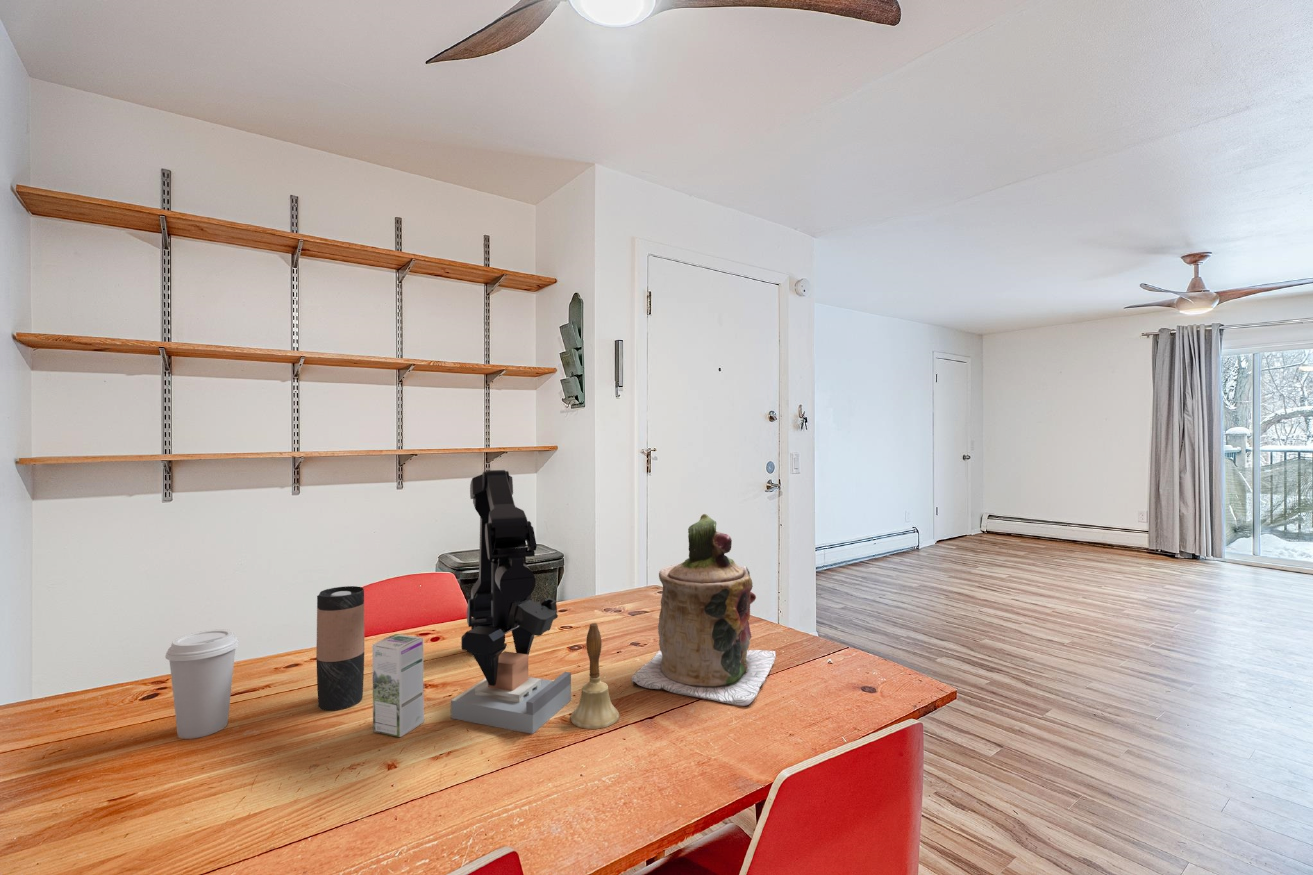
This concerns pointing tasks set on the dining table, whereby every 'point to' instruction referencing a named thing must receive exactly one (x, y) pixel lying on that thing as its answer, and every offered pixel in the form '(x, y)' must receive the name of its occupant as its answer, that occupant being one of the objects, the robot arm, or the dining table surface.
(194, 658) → the coffee cup
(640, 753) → the dining table surface
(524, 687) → the pallet
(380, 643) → the syrup box
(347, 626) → the travel mug
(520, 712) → the dock
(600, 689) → the hand bell
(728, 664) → the cookie jar
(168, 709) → the dining table surface
